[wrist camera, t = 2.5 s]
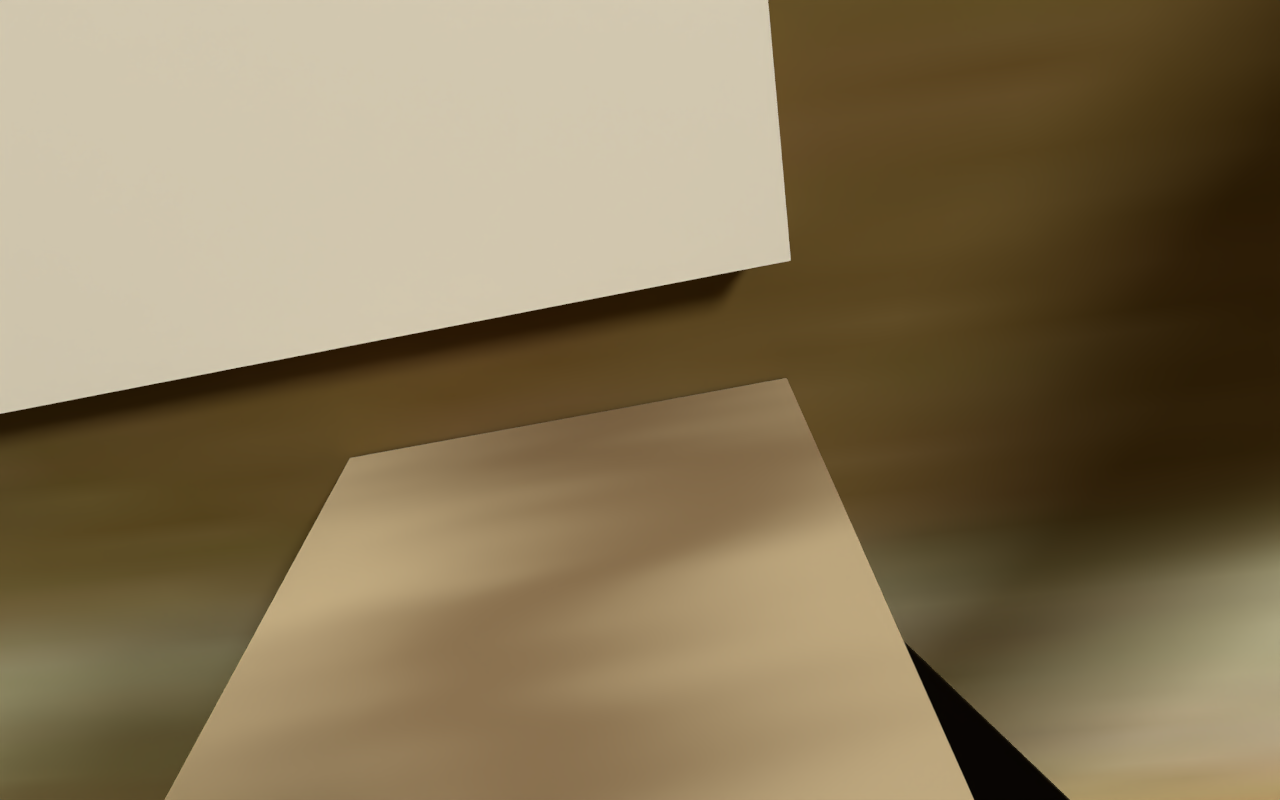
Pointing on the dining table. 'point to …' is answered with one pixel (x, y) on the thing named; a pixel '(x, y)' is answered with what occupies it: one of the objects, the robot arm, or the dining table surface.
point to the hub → (360, 172)
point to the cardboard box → (582, 627)
